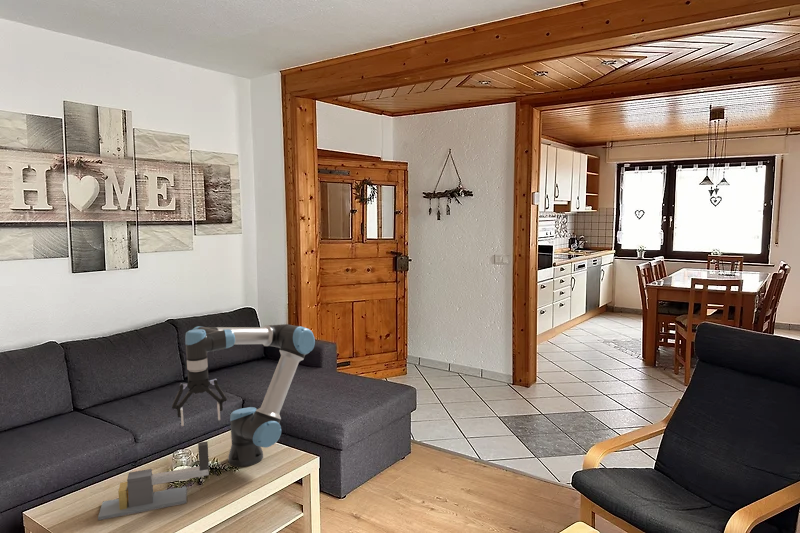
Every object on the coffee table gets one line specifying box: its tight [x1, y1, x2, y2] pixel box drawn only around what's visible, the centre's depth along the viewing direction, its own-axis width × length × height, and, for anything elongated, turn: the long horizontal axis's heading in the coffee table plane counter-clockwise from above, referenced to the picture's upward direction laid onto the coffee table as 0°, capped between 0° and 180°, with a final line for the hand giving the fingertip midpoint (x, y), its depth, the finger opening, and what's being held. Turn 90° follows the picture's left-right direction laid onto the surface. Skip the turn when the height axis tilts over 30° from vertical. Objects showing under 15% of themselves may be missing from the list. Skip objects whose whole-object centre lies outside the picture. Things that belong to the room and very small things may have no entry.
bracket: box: [97, 468, 188, 521], centre depth 209 cm, size 30×12×12 cm, turn 111°
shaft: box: [151, 441, 210, 486], centre depth 212 cm, size 26×4×12 cm, turn 111°
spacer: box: [117, 481, 129, 510], centre depth 207 cm, size 2×7×7 cm, turn 21°
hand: (201, 421), depth 216 cm, fingers open, 13 cm apart
